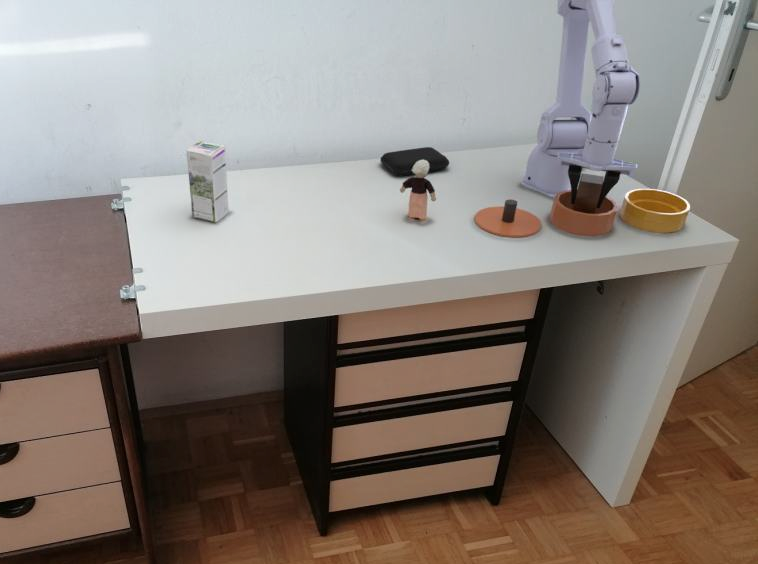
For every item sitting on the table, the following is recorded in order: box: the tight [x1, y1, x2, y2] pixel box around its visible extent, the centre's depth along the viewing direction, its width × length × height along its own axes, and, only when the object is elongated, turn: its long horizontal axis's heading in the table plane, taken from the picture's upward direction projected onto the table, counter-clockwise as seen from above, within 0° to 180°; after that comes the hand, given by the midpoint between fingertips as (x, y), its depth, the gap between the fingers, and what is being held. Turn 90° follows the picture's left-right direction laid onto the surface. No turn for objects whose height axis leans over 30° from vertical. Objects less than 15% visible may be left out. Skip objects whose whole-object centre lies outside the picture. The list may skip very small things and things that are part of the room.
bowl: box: [619, 188, 691, 234], centre depth 148 cm, size 12×12×4 cm
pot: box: [549, 190, 619, 237], centre depth 146 cm, size 12×12×5 cm
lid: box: [474, 198, 542, 238], centre depth 146 cm, size 13×13×5 cm
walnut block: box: [573, 172, 605, 214], centre depth 144 cm, size 4×4×7 cm
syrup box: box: [186, 141, 230, 223], centre depth 145 cm, size 6×6×14 cm
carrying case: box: [379, 146, 450, 177], centre depth 171 cm, size 11×3×15 cm
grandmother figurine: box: [399, 160, 437, 222], centre depth 145 cm, size 8×4×13 cm, turn 71°
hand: (585, 204), depth 145 cm, fingers closed on walnut block, 4 cm apart
